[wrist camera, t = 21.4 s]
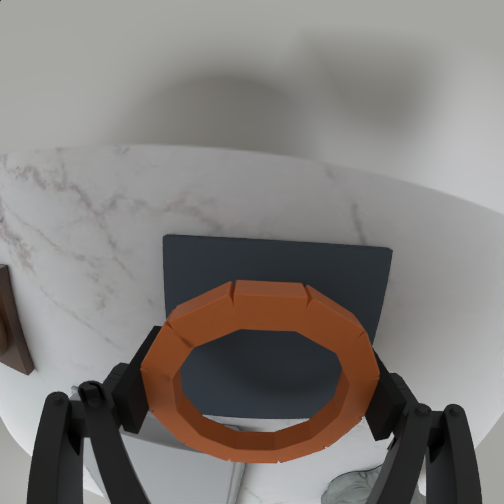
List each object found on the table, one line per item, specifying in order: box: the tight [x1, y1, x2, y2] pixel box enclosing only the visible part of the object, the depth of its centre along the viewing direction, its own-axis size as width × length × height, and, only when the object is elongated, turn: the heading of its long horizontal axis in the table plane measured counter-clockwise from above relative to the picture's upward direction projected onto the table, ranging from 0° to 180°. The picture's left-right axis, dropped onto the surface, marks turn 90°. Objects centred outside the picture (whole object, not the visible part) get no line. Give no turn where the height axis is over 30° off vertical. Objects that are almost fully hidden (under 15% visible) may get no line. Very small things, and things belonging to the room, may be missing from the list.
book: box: [69, 386, 245, 504], centre depth 22 cm, size 18×4×24 cm
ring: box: [140, 280, 380, 463], centre depth 13 cm, size 12×12×2 cm
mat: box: [163, 235, 393, 419], centre depth 19 cm, size 15×15×1 cm
